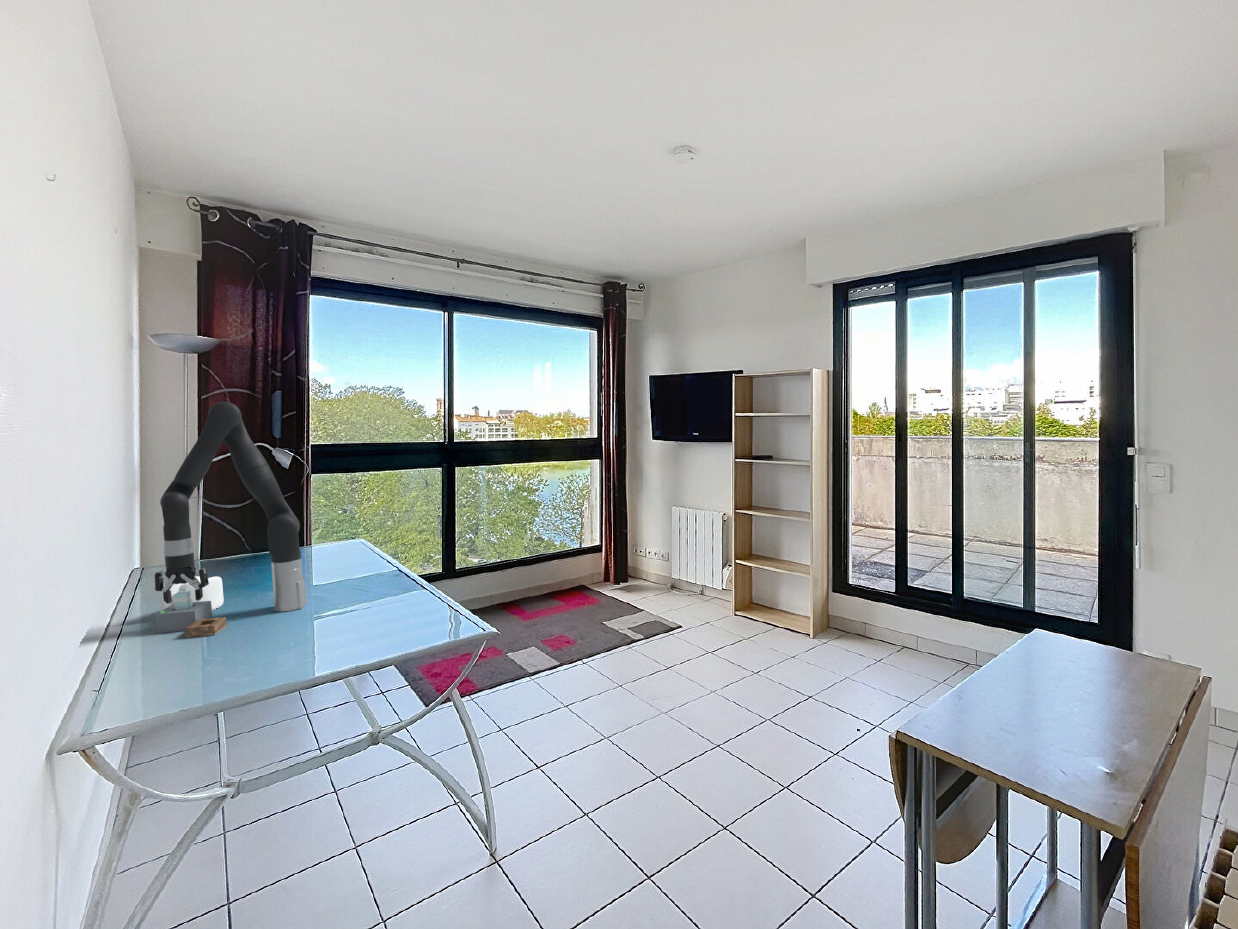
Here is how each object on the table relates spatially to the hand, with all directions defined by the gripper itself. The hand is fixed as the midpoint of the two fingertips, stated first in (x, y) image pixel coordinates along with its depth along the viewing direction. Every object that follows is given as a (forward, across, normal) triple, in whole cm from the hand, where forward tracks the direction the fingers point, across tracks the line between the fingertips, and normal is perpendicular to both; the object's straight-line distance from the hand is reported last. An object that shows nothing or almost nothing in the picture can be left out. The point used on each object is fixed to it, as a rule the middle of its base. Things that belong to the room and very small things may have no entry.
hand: (183, 601), depth 188 cm
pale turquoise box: (+7, 0, 0) cm, 7 cm away
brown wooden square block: (+8, -10, +9) cm, 16 cm away
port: (+8, 0, 0) cm, 8 cm away
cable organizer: (+8, +4, -14) cm, 17 cm away
